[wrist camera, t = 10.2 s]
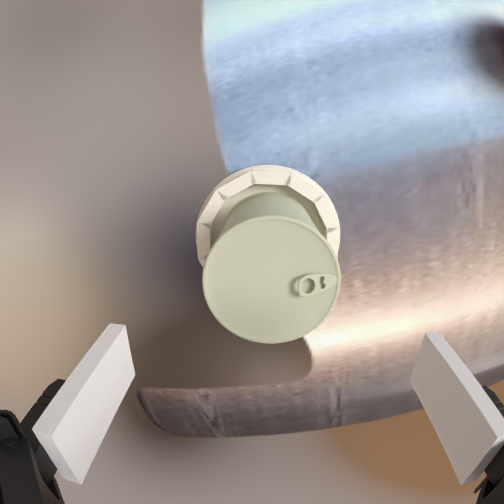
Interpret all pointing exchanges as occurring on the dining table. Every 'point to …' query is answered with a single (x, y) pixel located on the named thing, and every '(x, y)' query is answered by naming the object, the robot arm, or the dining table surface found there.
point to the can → (270, 271)
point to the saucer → (264, 181)
